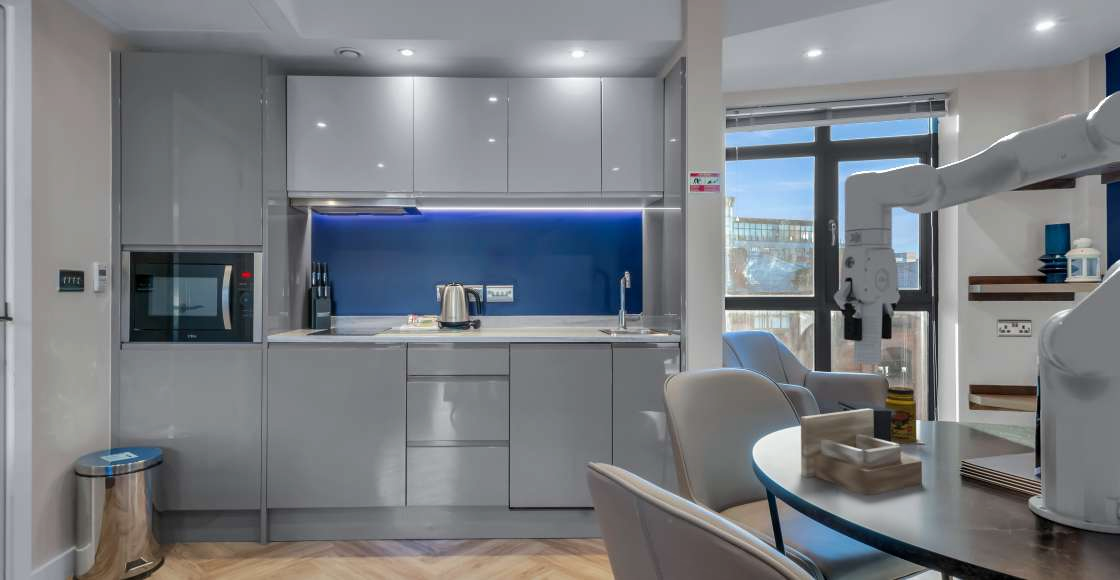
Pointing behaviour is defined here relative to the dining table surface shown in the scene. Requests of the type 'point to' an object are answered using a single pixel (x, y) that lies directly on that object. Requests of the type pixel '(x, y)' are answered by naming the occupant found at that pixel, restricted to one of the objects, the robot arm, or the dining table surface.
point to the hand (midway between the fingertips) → (868, 338)
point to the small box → (880, 417)
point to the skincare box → (870, 335)
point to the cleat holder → (854, 453)
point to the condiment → (902, 415)
